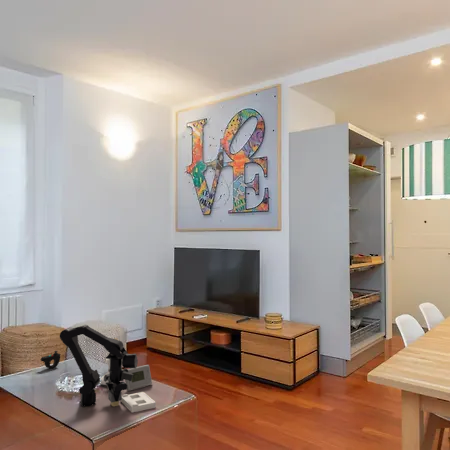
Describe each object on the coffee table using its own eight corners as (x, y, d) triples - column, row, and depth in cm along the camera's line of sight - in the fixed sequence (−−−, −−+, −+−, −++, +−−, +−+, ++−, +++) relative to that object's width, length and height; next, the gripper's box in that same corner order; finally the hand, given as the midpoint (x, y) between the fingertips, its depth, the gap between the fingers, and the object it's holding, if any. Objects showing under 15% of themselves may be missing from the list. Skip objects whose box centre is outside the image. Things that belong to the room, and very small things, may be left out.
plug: (111, 407, 202) (111, 392, 202) (108, 404, 206) (108, 389, 206) (121, 405, 204) (121, 390, 205) (117, 402, 209) (118, 387, 209)
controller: (61, 366, 264) (61, 350, 264) (43, 371, 253) (43, 354, 254) (57, 365, 266) (57, 349, 266) (39, 370, 256) (39, 353, 256)
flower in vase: (109, 388, 227) (110, 342, 228) (94, 384, 233) (96, 339, 234) (126, 382, 238) (127, 337, 239) (112, 378, 244) (113, 335, 245)
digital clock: (126, 392, 223) (126, 372, 223) (120, 387, 230) (121, 367, 231) (154, 386, 231) (155, 367, 232) (148, 382, 239) (148, 363, 239)
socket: (131, 412, 196) (132, 405, 197) (120, 401, 210) (120, 394, 210) (155, 407, 203) (155, 401, 203) (143, 396, 216) (143, 390, 216)
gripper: (138, 370, 202) (137, 402, 202) (125, 360, 218) (124, 390, 217) (115, 373, 196) (114, 407, 196) (103, 363, 212) (102, 394, 211)
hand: (114, 399), depth 205 cm, fingers closed on plug, 5 cm apart
